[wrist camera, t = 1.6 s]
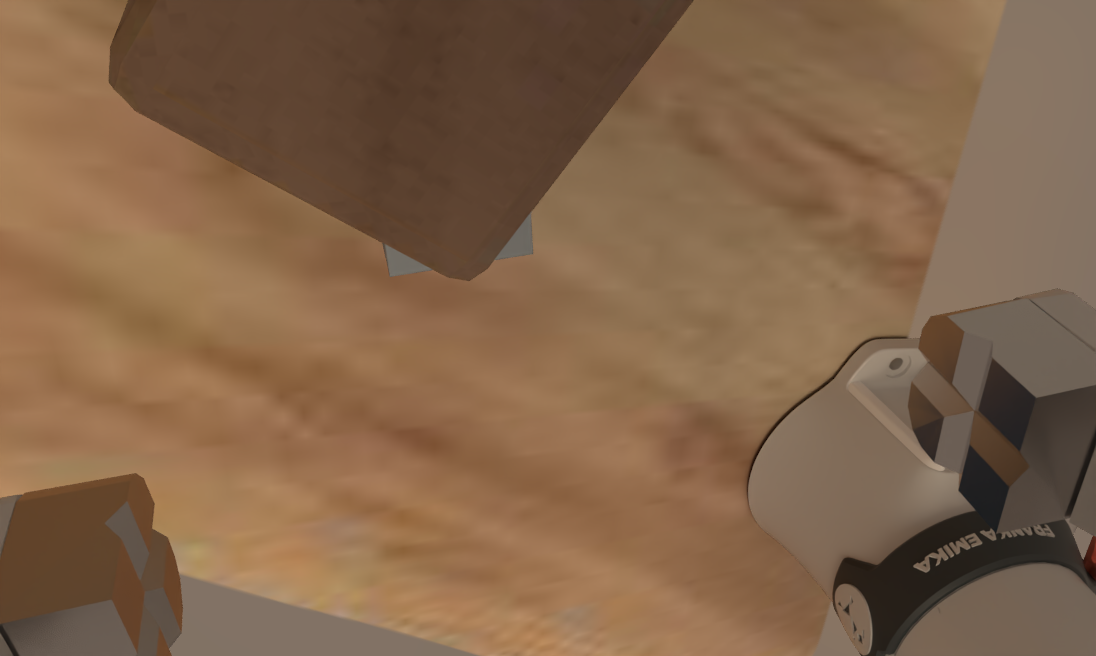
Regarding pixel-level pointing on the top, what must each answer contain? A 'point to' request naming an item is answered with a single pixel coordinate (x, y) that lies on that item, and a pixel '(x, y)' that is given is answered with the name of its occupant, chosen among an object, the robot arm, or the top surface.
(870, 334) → the top surface
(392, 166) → the wooden block
